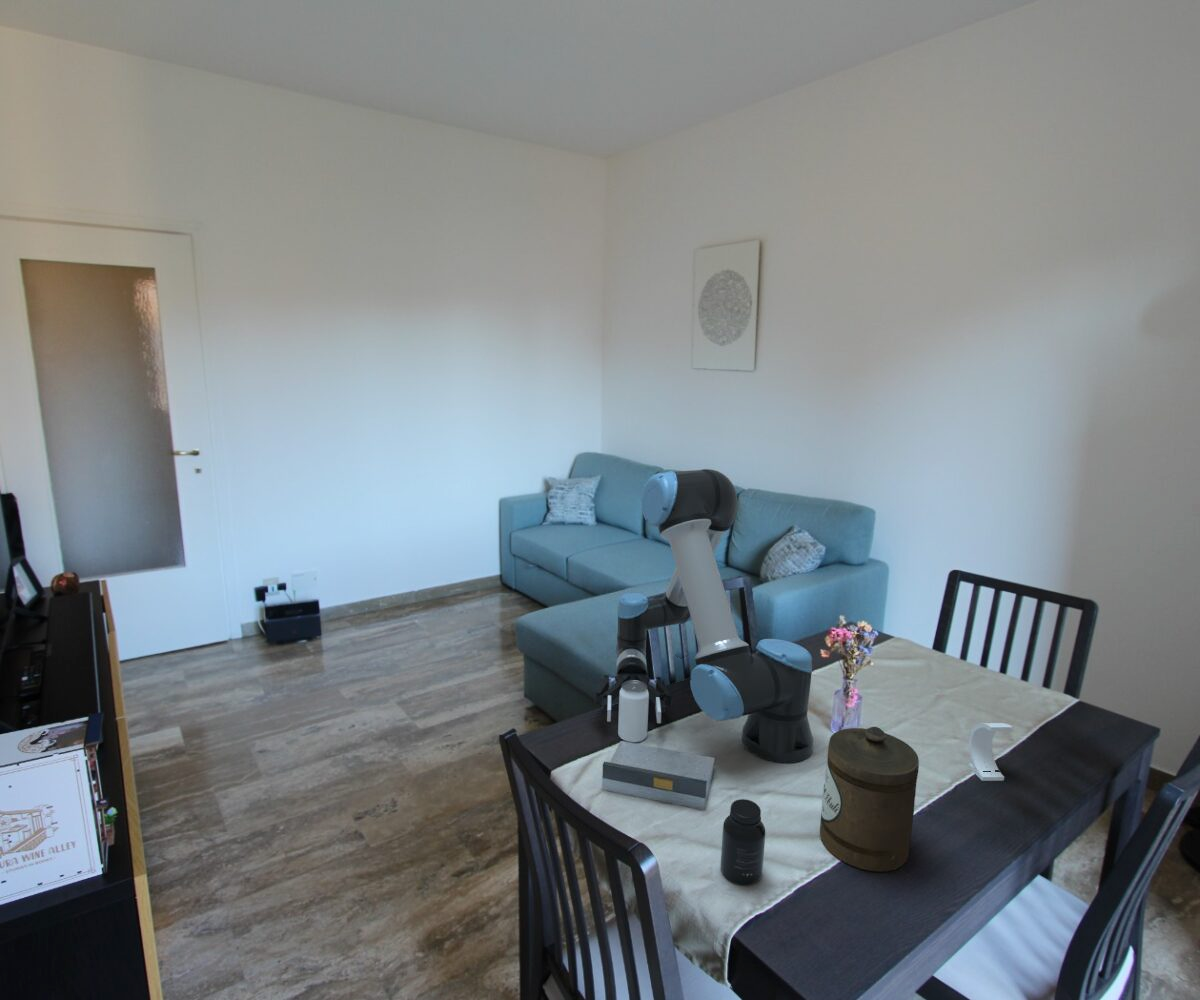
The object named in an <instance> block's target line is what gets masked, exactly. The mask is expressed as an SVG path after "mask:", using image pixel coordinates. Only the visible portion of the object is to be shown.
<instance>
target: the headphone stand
mask: <svg viewBox="0 0 1200 1000" xmlns="http://www.w3.org/2000/svg"><path fill="white" fill-rule="evenodd" d="M1012 731H1013V726H1012V725H1010V724H1008V723H1005V722H986V723H985V722H981V723H980V722H979V723H977V724H975V725H974V726H973V727H972V729H971V732H970V733H969V737H968V738H969V739H968V752H969V757H970V761H971V762H969V763H968V766H967V767H968V768H969V769H970V770H971V771H972V772H973V773H974V775H976V776H977V777H978V778H979V779H980V780H981V782H984V781H985V782H987V781H988V782H989V781H990V782H994V781H997V782H998V781H1001V782H1002V781H1004V780H1005V776H1004V775H1003V774H1002V772H1001V771H1000V769H999V767H998V766H997V763H996V760H995V757H994V752H993V741H994V740H993V739H994V737H995V734H996V732H1012ZM975 768H976V769H977V770H976V769H975ZM995 770H999V771H1000V772H995ZM983 771H991V772H983Z"/></svg>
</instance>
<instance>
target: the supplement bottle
mask: <svg viewBox="0 0 1200 1000" xmlns="http://www.w3.org/2000/svg"><path fill="white" fill-rule="evenodd" d="M729 810H730V812H729V815H727V817H726V818H725V819H724V821H723V825H722V837H721V839H722V840H721V855H720V870H721V872H722V874H723V876H725V878H726V879H727V880H728V881H730V882H732V883H734V884H737V885H741V886H748V885H753V884H755V883H757V882H758V881H759V880H760V879H761V878H762V875H763V869H764V868H763V867H764V855H765V846H766V845H765V844H766V843H765V842H766V828H765V825H764V823H763V822H762V816H761V814H762V811H761V807H760V806H759V804H757V803H756V802H755V801H753V800H749V799H744V798H741V799H737V800H734V801H733V802H732V803H731V805H730V809H729Z"/></svg>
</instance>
